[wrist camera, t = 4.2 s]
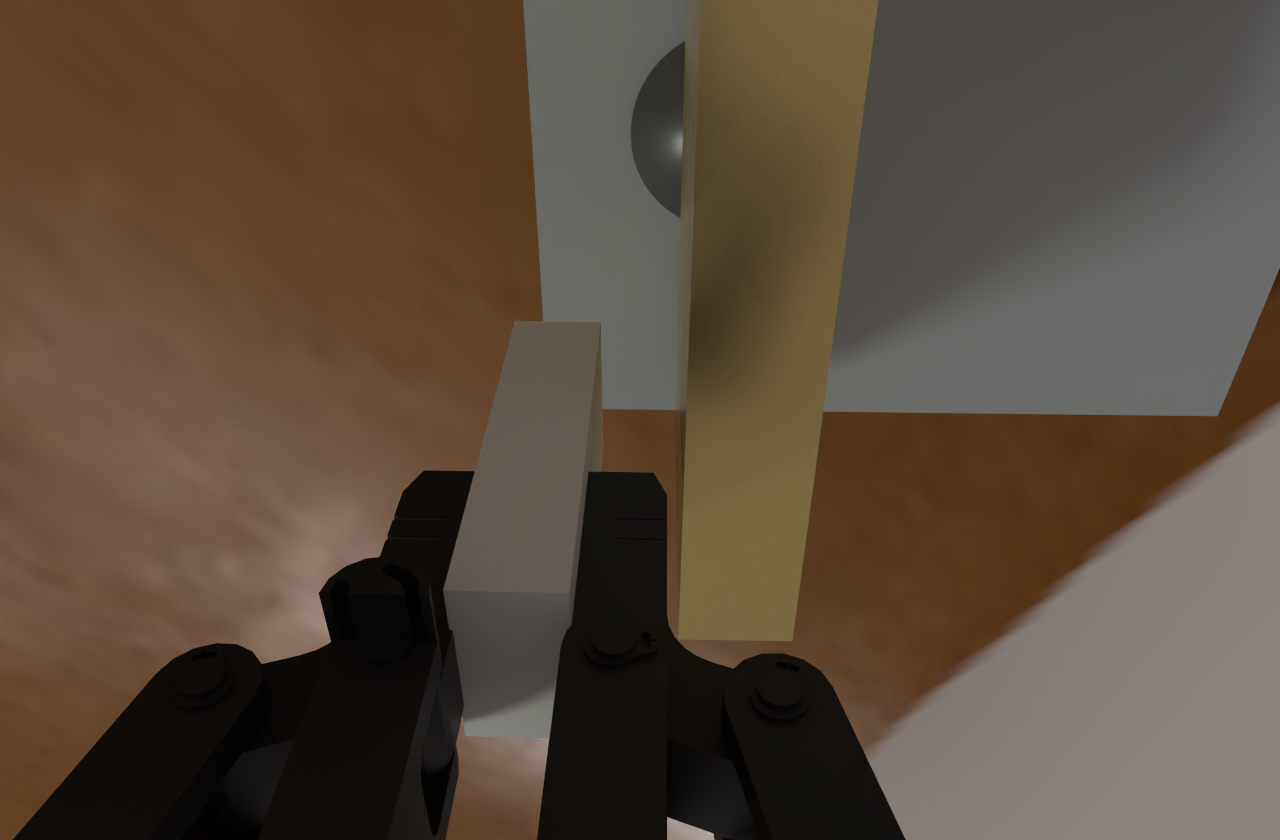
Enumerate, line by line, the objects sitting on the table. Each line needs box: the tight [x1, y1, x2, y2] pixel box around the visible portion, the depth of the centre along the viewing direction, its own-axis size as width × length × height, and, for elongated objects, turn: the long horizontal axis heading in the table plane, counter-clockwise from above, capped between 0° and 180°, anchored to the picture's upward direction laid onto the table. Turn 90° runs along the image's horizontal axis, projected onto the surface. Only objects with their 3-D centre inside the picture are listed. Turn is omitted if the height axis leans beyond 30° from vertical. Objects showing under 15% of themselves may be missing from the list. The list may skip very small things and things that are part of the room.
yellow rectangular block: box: [674, 0, 879, 641], centre depth 16 cm, size 13×2×7 cm, turn 0°
